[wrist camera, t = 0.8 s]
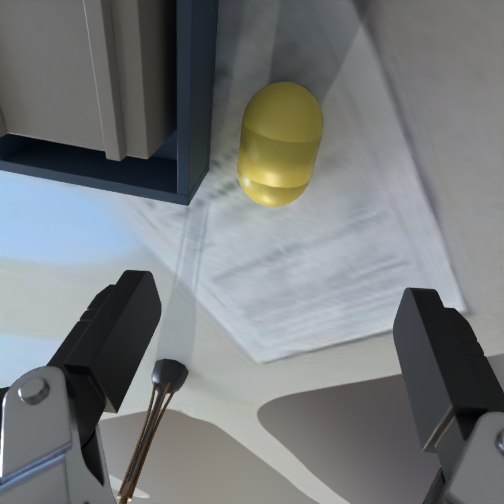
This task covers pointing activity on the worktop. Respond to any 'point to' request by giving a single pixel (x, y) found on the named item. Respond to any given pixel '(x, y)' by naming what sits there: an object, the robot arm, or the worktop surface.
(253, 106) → the yellow capsule
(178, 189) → the crate
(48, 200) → the worktop surface
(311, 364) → the worktop surface
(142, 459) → the wooden tabletop sculpture
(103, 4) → the block
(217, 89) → the worktop surface
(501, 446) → the robot arm
